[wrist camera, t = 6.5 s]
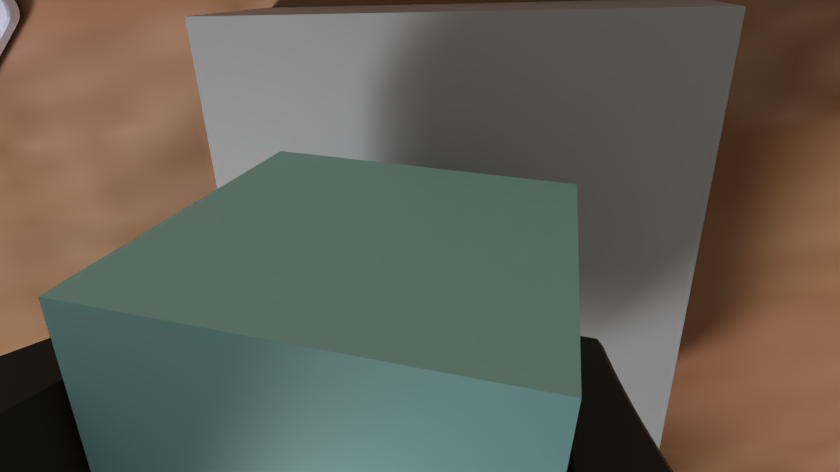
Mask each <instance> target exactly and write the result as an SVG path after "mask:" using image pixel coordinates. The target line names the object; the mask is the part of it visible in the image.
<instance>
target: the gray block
mask: <svg viewBox="0 0 840 472" xmlns="http://www.w3.org/2000/svg"><path fill="white" fill-rule="evenodd" d="M745 10H746V6H743V5H737V4H731V3H725V2H719V1H714V0H591V1H546V2H501V3H456V4H410V5H365V6H320V7H275V8H263V9H253V10H244V11H234V12H225V13H215V14H205V15H196V16H186V17H185V21H186V26H187V31H188V36H189V42H190V47H191V52H192V58H193V63H194V68H195V73H196V79H197V84H198V89H199V95H200V100H201V105H202V110H203V116H204V121H205V126H206V132H207V137H208V142H209V147H210V153H211V158H212V163H213V169H214V174H215V179H216V184H217V189H218V188H220V187H222V186H223V185H225V184H227V183H228V182H230V181H232V180H233V179H235V178H237V177H238V176H240V175H242V174H243V173H245V172H247V171H248V170H250V169H252V168H253V167H255V166H257V165H258V164H260V163H262V162H263V161H265V160H267V159H268V158H270V157H272V156H273V155H275V154H277V153H278V152H280V151H285V152H294V153H303V154H312V155H321V156H330V157H338V158H347V159H356V160H365V161H374V162H383V163H392V164H401V165H409V166H418V167H427V168H436V169H445V170H454V171H463V172H472V173H480V174H489V175H498V176H507V177H516V178H525V179H534V180H543V181H551V182H560V183H569V184H577V208H578V255H579V302H580V336H583V337H589V338H595V339H598V340H599V342H600V343H601V344H602V346H603V347H604V349H605V351H606V354H607V356H608V358H609V360H610V362H611V364H612V366H613V368H614V370H615V372H616V374H617V376H618V378H619V380H620V382H621V384H622V386H623V388H624V390H625V392H626V393H627V395H628V397H629V399H630V401H631V403H632V405H633V406H634V408H635V410H636V412H637V413H638V415H639V417H640V419H641V420H642V422H643V424H644V425H645V427H646V429H647V430H648V432H649V434H650V435H651V437H652V439H653V440H654V442H655V444H656V445H657V447H658V448H660V443H661V438H662V433H663V427H664V422H665V417H666V412H667V407H668V402H669V397H670V392H671V387H672V382H673V377H674V371H675V366H676V361H677V356H678V351H679V346H680V341H681V336H682V331H683V326H684V321H685V316H686V310H687V305H688V300H689V295H690V290H691V285H692V280H693V275H694V270H695V265H696V260H697V254H698V249H699V244H700V239H701V234H702V229H703V224H704V219H705V214H706V209H707V204H708V199H709V193H710V188H711V183H712V178H713V173H714V168H715V163H716V158H717V153H718V148H719V143H720V137H721V132H722V127H723V122H724V117H725V112H726V107H727V102H728V97H729V92H730V87H731V82H732V76H733V71H734V66H735V61H736V56H737V51H738V46H739V41H740V36H741V31H742V26H743V20H744V15H745Z"/></svg>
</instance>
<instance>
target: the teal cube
mask: <svg viewBox="0 0 840 472" xmlns="http://www.w3.org/2000/svg"><path fill="white" fill-rule="evenodd" d="M38 298H39V301H40V304H41V308H42V311H43V314H44V317H45V321H46V324H47V327H48V331H49V334H50V337H51V341H52V344H53V347H54V351H55V354H56V357H57V361H58V364H59V367H60V371H61V374H62V377H63V381H64V384H65V387H66V391H67V394H68V397H69V401H70V404H71V407H72V411H73V414H74V417H75V421H76V424H77V427H78V431H79V434H80V437H81V441H82V444H83V447H84V451H85V454H86V457H87V461H88V464H89V467H90V471H91V472H567V467H568V462H569V457H570V453H571V448H572V443H573V438H574V433H575V428H576V423H577V418H578V413H579V409H580V404H581V399H582V396H581V349H580V302H579V255H578V208H577V184H569V183H560V182H551V181H543V180H534V179H525V178H516V177H507V176H498V175H489V174H480V173H472V172H463V171H454V170H445V169H436V168H427V167H418V166H409V165H401V164H392V163H383V162H374V161H365V160H356V159H347V158H338V157H330V156H321V155H312V154H303V153H294V152H285V151H280V152H278V153H277V154H275V155H273V156H272V157H270V158H268V159H267V160H265V161H263V162H262V163H260V164H258V165H257V166H255V167H253V168H252V169H250V170H248V171H247V172H245V173H243V174H242V175H240V176H238V177H237V178H235V179H233V180H232V181H230V182H228V183H227V184H225V185H223V186H222V187H220V188H218V189H217V190H215V191H213V192H212V193H210V194H208V195H207V196H205V197H203V198H202V199H200V200H198V201H197V202H195V203H193V204H192V205H190V206H188V207H187V208H185V209H183V210H182V211H180V212H178V213H177V214H175V215H173V216H172V217H170V218H168V219H167V220H165V221H163V222H162V223H160V224H158V225H157V226H155V227H153V228H152V229H150V230H148V231H147V232H145V233H143V234H142V235H140V236H138V237H137V238H135V239H133V240H132V241H130V242H128V243H127V244H125V245H123V246H122V247H120V248H118V249H117V250H115V251H113V252H112V253H110V254H108V255H107V256H105V257H103V258H102V259H100V260H98V261H97V262H95V263H93V264H92V265H90V266H88V267H87V268H85V269H83V270H82V271H80V272H78V273H77V274H75V275H73V276H72V277H70V278H68V279H67V280H65V281H63V282H62V283H60V284H58V285H57V286H55V287H53V288H52V289H50V290H48V291H47V292H45V293H43V294H42V295H40V296H38Z"/></svg>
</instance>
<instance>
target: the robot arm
mask: <svg viewBox="0 0 840 472" xmlns="http://www.w3.org/2000/svg"><path fill="white" fill-rule="evenodd" d="M19 18H20V14H19V8H18V6H17V3H16V2H15V0H0V55H1V53H2V52H3V50H4V48H5V46H6V44H7V42H8V41H9V39H10V37H11V35H12V33H13V31H14V30H15V28H16V26H17V24H18V22H19ZM580 349H581V396H582V399H581V404H580V409H579V413H578V418H577V423H576V428H575V433H574V438H573V443H572V448H571V453H570V457H569V462H568V467H567V472H673V471H672V469H671V468H670V466H669V465H668V463H667V461H666V460H665V458H664V457H663V455H662V453H661V452H660V450H659V448H658V447H657V445H656V444H655V442H654V440H653V439H652V437H651V435H650V434H649V432H648V430H647V429H646V427H645V425H644V424H643V422H642V420H641V419H640V417H639V415H638V413H637V412H636V410H635V408H634V406H633V405H632V403H631V401H630V399H629V397H628V395H627V393H626V392H625V390H624V388H623V386H622V384H621V382H620V380H619V378H618V376H617V374H616V372H615V370H614V368H613V366H612V364H611V362H610V360H609V358H608V356H607V354H606V351H605V349H604V347H603V346H602V344H601V343H600V342H599V340H598V339H595V338H589V337H583V336H580ZM0 472H91V471H90V467H89V464H88V461H87V457H86V454H85V451H84V447H83V444H82V441H81V437H80V434H79V431H78V427H77V424H76V421H75V417H74V414H73V411H72V407H71V404H70V401H69V397H68V394H67V391H66V387H65V384H64V381H63V377H62V374H61V371H60V367H59V364H58V361H57V357H56V354H55V351H54V347H53V344H52V341H51V338H49V339H46V340H43V341H40V342H38V343H35V344H32V345H30V346H27V347H24V348H21V349H19V350H16V351H13V352H11V353H8V354H5V355H2V356H0Z"/></svg>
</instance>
